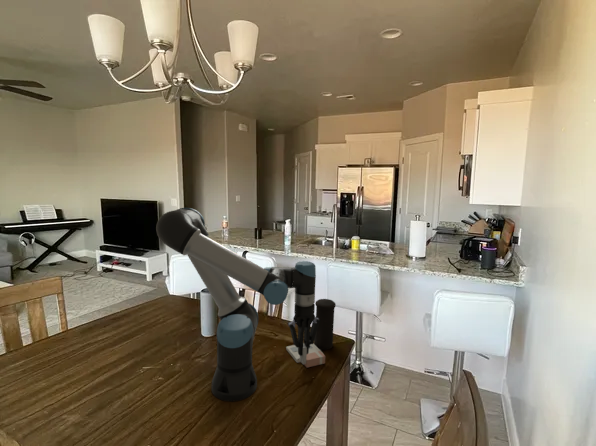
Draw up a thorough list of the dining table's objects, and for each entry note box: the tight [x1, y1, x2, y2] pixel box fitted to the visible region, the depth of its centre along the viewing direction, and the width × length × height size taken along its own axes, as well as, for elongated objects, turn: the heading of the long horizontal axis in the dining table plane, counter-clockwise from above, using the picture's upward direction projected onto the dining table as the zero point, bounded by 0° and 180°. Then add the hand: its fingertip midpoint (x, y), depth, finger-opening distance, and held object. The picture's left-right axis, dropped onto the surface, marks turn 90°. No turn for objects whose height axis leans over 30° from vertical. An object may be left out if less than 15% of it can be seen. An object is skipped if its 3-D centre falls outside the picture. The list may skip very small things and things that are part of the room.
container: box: [314, 298, 336, 351], centre depth 138 cm, size 9×9×20 cm
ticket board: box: [285, 342, 325, 364], centre depth 132 cm, size 12×11×1 cm
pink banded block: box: [303, 350, 326, 368], centre depth 125 cm, size 8×4×3 cm, turn 115°
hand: (303, 362), depth 123 cm, fingers closed
